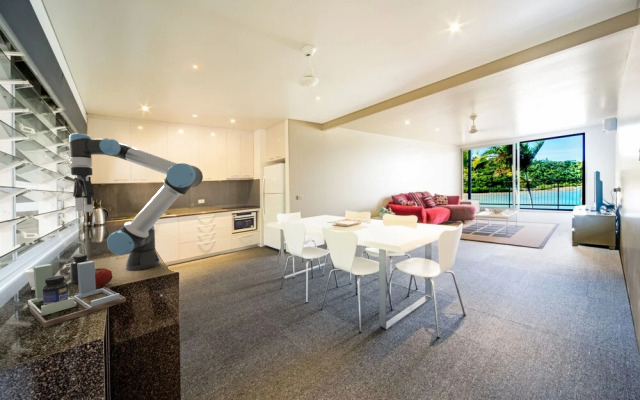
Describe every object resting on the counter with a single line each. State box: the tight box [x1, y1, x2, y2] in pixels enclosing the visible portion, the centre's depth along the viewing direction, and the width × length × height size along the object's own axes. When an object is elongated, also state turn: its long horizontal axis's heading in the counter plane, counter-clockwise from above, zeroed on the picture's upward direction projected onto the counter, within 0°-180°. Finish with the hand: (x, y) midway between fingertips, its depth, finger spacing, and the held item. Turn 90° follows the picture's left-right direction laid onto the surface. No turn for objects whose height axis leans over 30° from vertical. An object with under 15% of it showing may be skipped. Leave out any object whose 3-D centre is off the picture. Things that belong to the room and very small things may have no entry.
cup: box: [25, 268, 35, 291], centre depth 113 cm, size 7×10×8 cm
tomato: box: [95, 267, 113, 288], centre depth 112 cm, size 9×9×8 cm
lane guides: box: [29, 286, 127, 328], centre depth 93 cm, size 21×20×2 cm
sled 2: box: [72, 260, 121, 308], centre depth 98 cm, size 9×21×13 cm, turn 57°
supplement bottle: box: [69, 253, 90, 284], centre depth 119 cm, size 7×7×12 cm
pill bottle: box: [43, 275, 69, 306], centre depth 91 cm, size 6×6×11 cm
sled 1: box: [27, 263, 78, 317], centre depth 94 cm, size 9×21×13 cm, turn 57°
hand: (84, 211), depth 124 cm, fingers open, 13 cm apart
